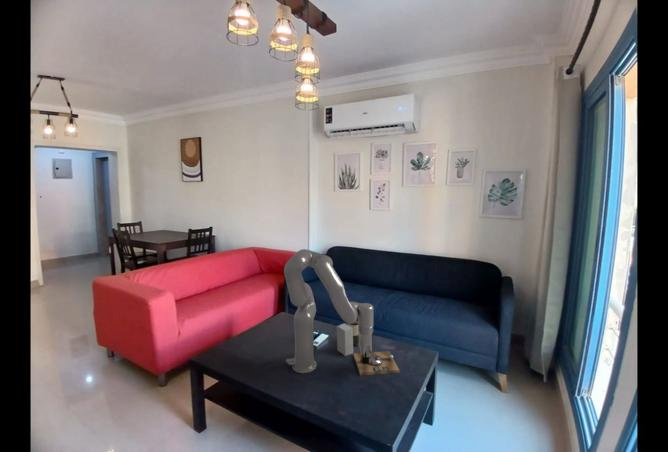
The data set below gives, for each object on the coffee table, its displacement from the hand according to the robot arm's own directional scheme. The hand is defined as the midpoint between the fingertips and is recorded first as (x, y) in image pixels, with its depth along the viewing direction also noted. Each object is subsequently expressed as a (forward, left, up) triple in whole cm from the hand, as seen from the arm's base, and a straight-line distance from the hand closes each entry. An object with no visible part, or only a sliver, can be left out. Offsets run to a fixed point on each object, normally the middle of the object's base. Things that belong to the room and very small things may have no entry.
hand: (365, 363), depth 158 cm
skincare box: (-8, +19, -4) cm, 21 cm away
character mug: (-1, +27, -4) cm, 27 cm away
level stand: (+6, +5, -4) cm, 9 cm away
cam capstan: (+7, +5, -2) cm, 9 cm away
